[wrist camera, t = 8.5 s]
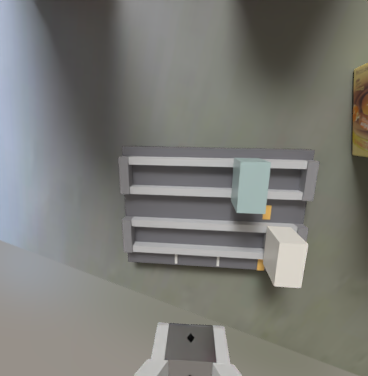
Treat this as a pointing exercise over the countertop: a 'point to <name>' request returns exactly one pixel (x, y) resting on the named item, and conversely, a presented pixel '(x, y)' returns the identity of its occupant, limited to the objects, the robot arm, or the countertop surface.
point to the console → (207, 204)
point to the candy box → (360, 111)
